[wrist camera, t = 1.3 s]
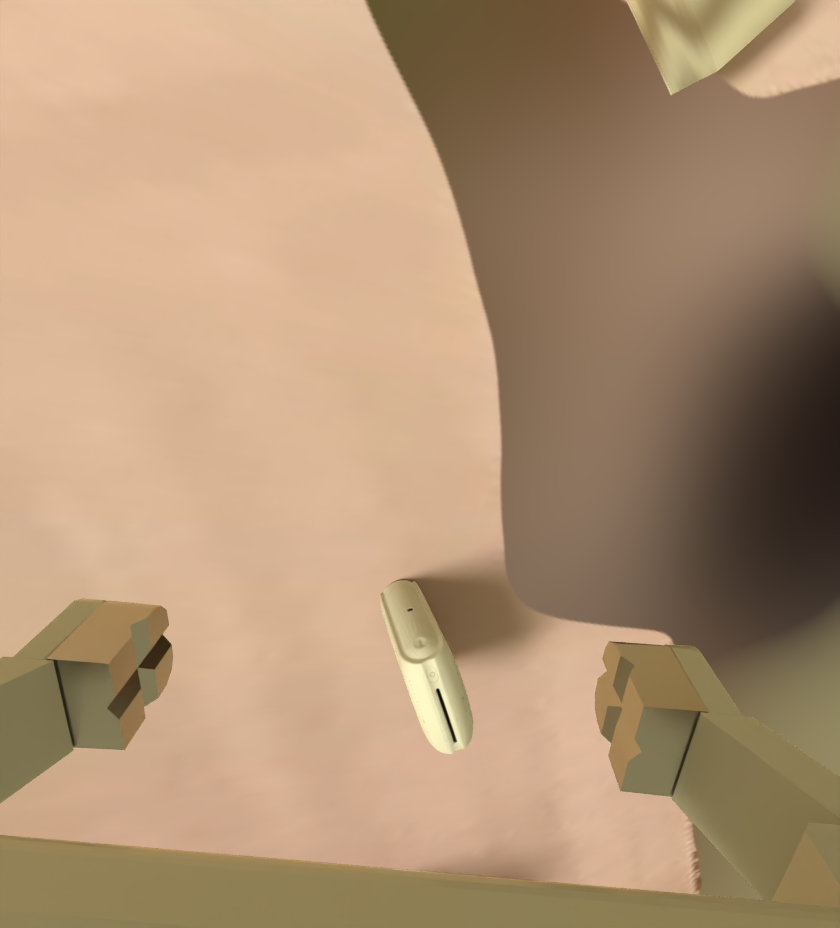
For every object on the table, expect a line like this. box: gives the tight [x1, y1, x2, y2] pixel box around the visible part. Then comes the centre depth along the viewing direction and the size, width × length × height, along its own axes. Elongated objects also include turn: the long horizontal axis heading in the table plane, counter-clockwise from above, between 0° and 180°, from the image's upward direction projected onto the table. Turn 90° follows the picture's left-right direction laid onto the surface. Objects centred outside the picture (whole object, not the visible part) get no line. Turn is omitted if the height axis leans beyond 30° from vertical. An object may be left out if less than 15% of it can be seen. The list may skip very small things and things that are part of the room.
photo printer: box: [380, 580, 473, 754], centre depth 46 cm, size 10×4×12 cm, turn 16°
